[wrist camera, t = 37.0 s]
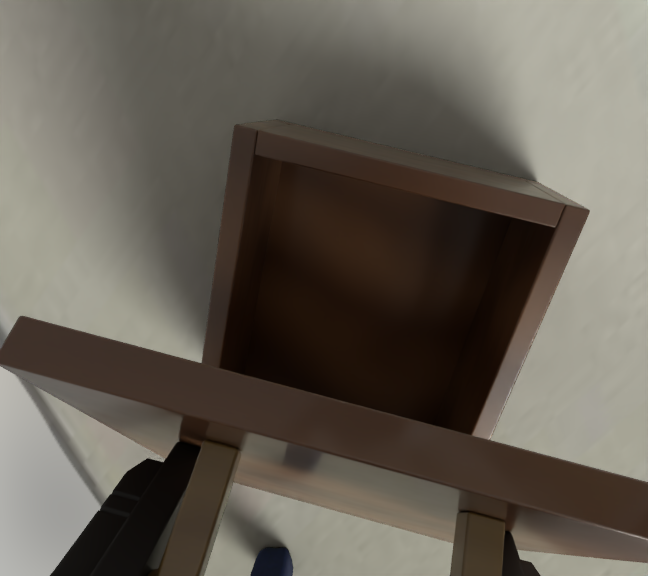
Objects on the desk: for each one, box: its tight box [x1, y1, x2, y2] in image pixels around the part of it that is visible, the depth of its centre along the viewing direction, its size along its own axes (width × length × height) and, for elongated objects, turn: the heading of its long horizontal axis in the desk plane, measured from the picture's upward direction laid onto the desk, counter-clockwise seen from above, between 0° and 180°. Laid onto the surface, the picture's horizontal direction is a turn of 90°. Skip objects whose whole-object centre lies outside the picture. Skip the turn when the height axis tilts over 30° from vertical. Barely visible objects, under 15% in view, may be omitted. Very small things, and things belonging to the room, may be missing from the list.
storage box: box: [202, 120, 590, 440], centre depth 20 cm, size 14×12×6 cm
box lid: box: [0, 316, 648, 576], centre depth 13 cm, size 14×12×5 cm
